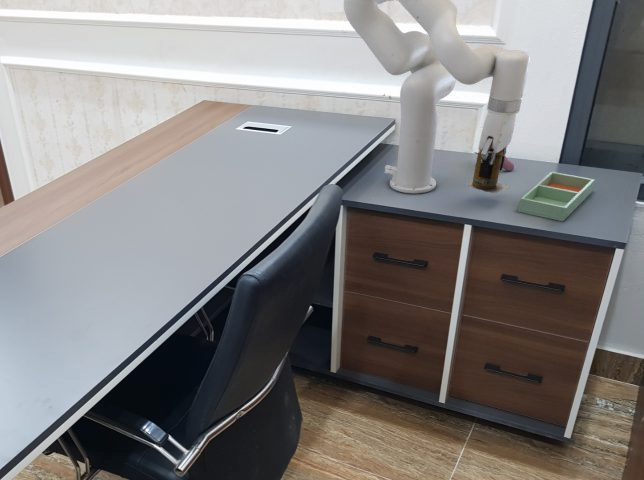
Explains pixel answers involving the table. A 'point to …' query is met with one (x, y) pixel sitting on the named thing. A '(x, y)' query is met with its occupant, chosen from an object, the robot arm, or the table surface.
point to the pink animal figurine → (508, 164)
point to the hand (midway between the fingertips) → (490, 172)
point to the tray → (556, 196)
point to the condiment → (491, 184)
